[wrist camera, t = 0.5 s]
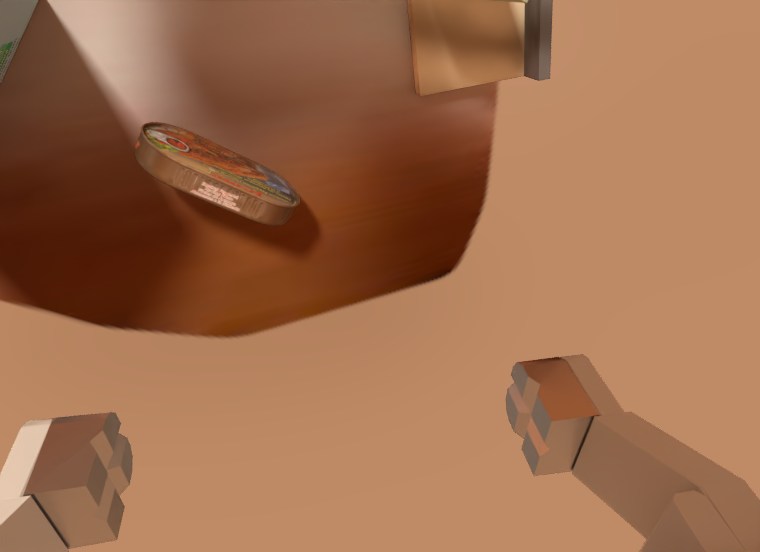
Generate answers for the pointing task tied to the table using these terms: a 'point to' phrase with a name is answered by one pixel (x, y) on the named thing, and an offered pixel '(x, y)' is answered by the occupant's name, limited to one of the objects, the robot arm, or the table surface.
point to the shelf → (478, 42)
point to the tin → (215, 174)
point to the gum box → (12, 28)
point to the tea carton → (521, 0)
